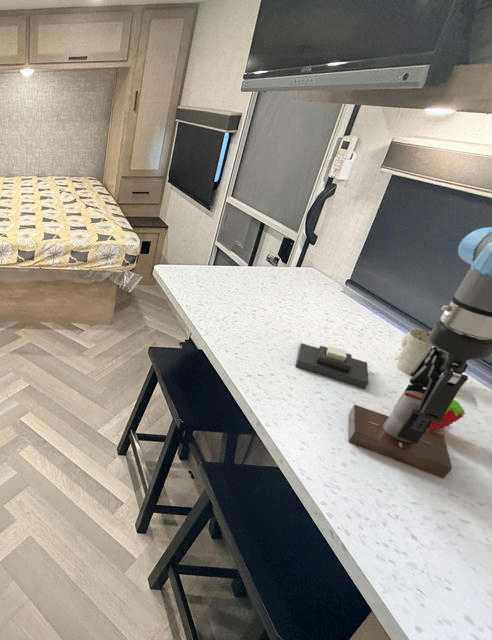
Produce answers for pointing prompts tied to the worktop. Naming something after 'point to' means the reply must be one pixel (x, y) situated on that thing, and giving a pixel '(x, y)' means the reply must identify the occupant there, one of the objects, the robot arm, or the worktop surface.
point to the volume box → (399, 443)
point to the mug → (413, 349)
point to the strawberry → (449, 416)
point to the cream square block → (336, 353)
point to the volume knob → (402, 413)
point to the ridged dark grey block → (332, 366)
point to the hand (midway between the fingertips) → (404, 424)
